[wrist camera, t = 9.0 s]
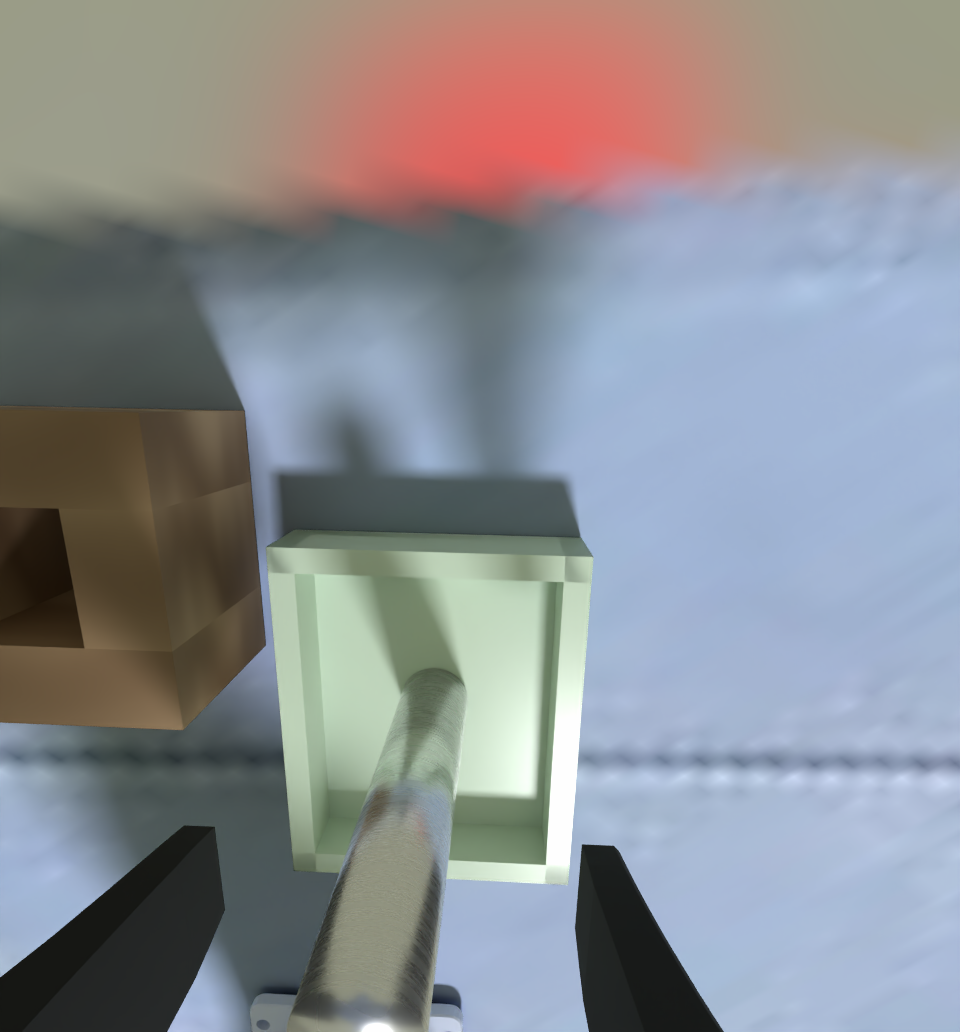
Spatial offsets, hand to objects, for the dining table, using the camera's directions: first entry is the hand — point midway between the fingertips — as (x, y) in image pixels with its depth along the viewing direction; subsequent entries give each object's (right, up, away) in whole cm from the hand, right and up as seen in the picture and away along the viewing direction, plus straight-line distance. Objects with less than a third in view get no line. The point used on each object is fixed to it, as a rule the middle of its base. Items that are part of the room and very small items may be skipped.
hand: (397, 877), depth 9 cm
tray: (0, +1, +6) cm, 6 cm away
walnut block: (-9, +7, +5) cm, 12 cm away
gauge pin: (0, +1, +5) cm, 6 cm away
